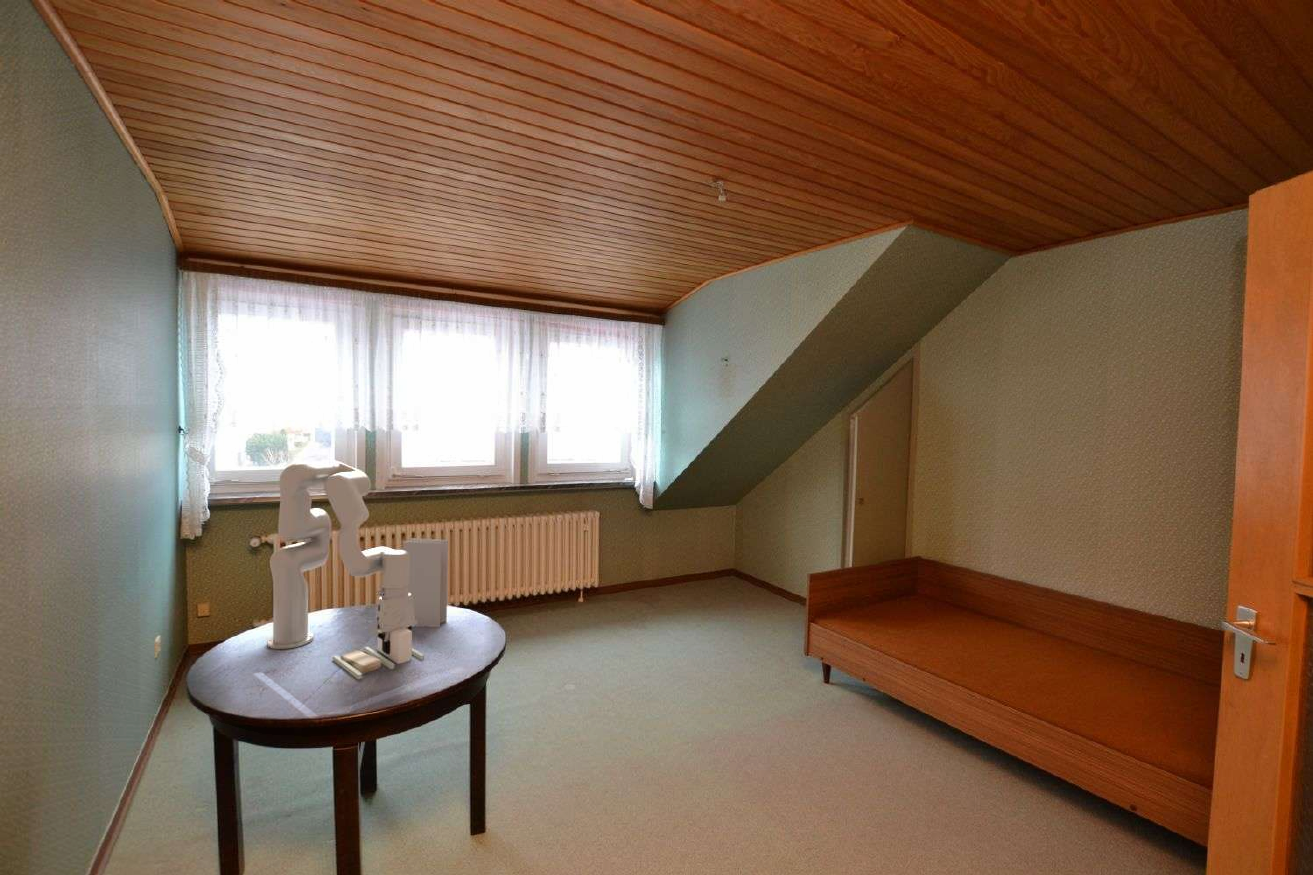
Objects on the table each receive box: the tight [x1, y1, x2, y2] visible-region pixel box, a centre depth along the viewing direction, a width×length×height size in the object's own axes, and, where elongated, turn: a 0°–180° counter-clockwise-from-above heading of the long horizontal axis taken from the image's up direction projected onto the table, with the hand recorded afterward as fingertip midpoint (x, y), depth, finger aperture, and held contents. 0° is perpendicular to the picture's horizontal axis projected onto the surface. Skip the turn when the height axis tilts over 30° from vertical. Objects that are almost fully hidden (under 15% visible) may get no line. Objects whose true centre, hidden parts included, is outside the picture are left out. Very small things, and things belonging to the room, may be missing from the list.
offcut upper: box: [340, 649, 382, 674], centre depth 167 cm, size 12×5×2 cm, turn 58°
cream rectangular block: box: [376, 628, 413, 665], centre depth 174 cm, size 14×4×10 cm, turn 49°
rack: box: [332, 646, 425, 680], centre depth 170 cm, size 18×19×2 cm
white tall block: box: [402, 537, 449, 628], centre depth 204 cm, size 14×6×30 cm, turn 84°
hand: (394, 649), depth 174 cm, fingers closed on cream rectangular block, 4 cm apart
